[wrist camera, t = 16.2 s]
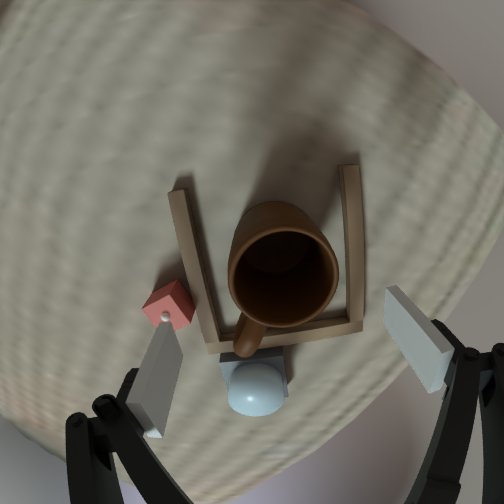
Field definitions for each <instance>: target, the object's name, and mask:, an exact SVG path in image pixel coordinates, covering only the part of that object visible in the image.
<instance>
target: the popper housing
mask: <svg viewBox="0 0 504 504" xmlns="http://www.w3.org/2000/svg"><path fill="white" fill-rule="evenodd" d="M249 363H263V364H267V365H270V366H272V367H274V368H275V369H277V370H278V371H279V373H280V374H281V377H282V384H283V393H284V397H288V389H287V381H286V373H285V365H284V357H283V350H282V346H277V347H269V348H262V349H257V350H256V351H255V352H254V354H253V355H251V356H249V357H240V356H238V355H237V354H236V353H235V352H226V353H221V354H220V361H219V364H220V367H221V370H222V373H223V377H224V380H225V383H226V386H227V389H228V392H229V381H230V376H231V374H232V372H233V371H234V370H235V369H237V368H238V367H240V366H242V365H245V364H249Z"/></svg>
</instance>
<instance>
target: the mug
mask: <svg viewBox="0 0 504 504" xmlns="http://www.w3.org/2000/svg"><path fill="white" fill-rule="evenodd" d="M338 281H339V266H338V261H337V258H336V256H335V253H334V251H333V249H332V248H331V245H330V244H329V242H328V240H327V239H326V237H325V236H324V235H323V233H322V232H321V231H320V230H319V228H318V227H317V226H316V225H315V224H314V223H313V222H312V220H311V219H310V218H309V217H308V216H307V215H306V214H305V213H304V212H303V211H302V210H300V209H299V208H297V207H296V206H294V205H292V204H289V203H286V202H280V201H270V202H265V203H262V204H259V205H257V206H255V207H253V208H252V209H250V210H249V211H248V212H247V213H246V214H245V215H244V216H243V217H242V218H241V220H240V221H239V223H238V225H237V227H236V230H235V233H234V238H233V241H232V246H231V250H230V255H229V260H228V287H229V291H230V294H231V297H232V299H233V301H234V302H235V304H236V306H237V307H238V308H239V309H240V310H241V311H242V312H241V315H240V317H239V320H238V323H237V326H236V330H235V334H234V339H233V349H234V352H235V353H236V354H237V355H238V356H240V357H249V356H251V355H253V354H254V352H255V351H256V350H257V349H258V347H259V345H260V343H261V341H262V339H263V336H264V334H265V331H266V329H267V326H270V327H281V328H283V327H292V326H296V325H300V324H303V323H305V322H307V321H309V320H311V319H313V318H314V317H316V316H317V315H319V314H320V313H321V312H322V311H323V310H324V309H325V308H326V307H327V306H328V304H329V303H330V301H331V300H332V298H333V296H334V294H335V292H336V289H337V286H338Z"/></svg>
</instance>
